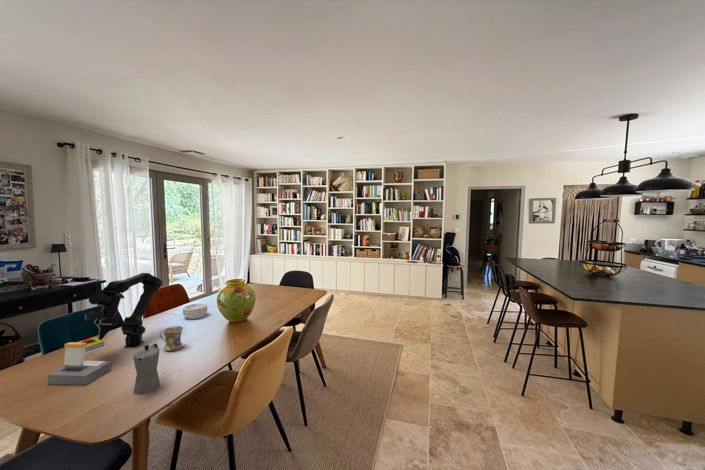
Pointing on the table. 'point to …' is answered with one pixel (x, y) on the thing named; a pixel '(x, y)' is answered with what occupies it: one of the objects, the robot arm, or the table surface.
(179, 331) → the mug
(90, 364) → the box
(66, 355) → the handle
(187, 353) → the table surface
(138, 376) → the coffeepot
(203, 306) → the paper bowls
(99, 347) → the emergency button
